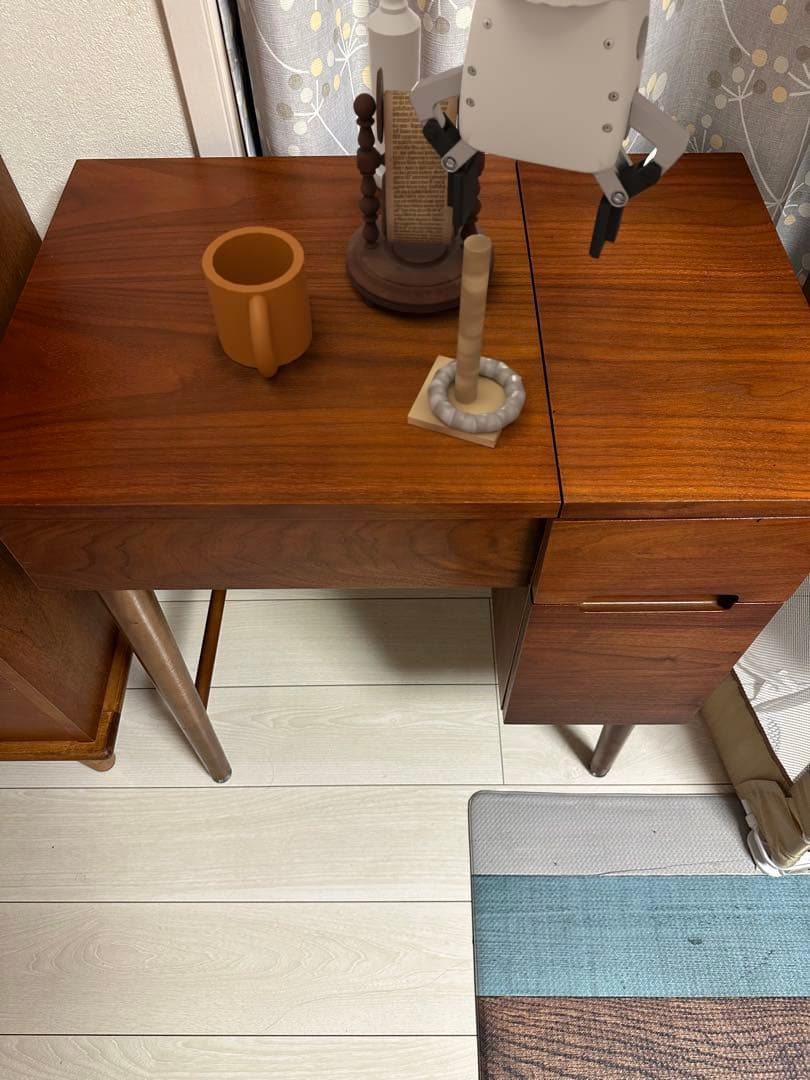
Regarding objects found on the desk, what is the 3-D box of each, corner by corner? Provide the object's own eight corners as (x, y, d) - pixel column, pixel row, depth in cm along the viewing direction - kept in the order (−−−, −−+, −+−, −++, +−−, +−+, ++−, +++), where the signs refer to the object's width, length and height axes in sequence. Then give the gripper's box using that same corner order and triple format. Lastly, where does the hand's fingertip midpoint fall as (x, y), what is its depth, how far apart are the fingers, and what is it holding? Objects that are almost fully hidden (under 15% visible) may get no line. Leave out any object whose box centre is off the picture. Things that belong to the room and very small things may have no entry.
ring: (534, 380, 73) (537, 367, 71) (507, 447, 69) (509, 435, 67) (446, 356, 74) (447, 343, 73) (414, 421, 70) (414, 408, 69)
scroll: (341, 323, 78) (322, 122, 62) (351, 227, 86) (337, 26, 70) (494, 326, 78) (517, 124, 61) (490, 229, 86) (509, 27, 69)
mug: (205, 392, 74) (182, 315, 66) (229, 303, 80) (210, 223, 73) (303, 396, 73) (291, 320, 66) (319, 306, 80) (310, 227, 72)
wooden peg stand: (520, 384, 74) (546, 222, 60) (493, 448, 70) (514, 290, 56) (438, 362, 75) (444, 199, 61) (407, 423, 71) (406, 264, 57)
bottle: (373, 167, 92) (362, -97, 71) (419, 166, 92) (421, -97, 71) (373, 194, 89) (361, -72, 68) (419, 194, 89) (422, -72, 68)
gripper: (749, -64, 42) (665, 225, 56) (434, -106, 45) (431, 176, 60) (726, 1, 38) (642, 293, 52) (384, -51, 42) (393, 236, 56)
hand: (530, 230), depth 56 cm, fingers open, 9 cm apart
